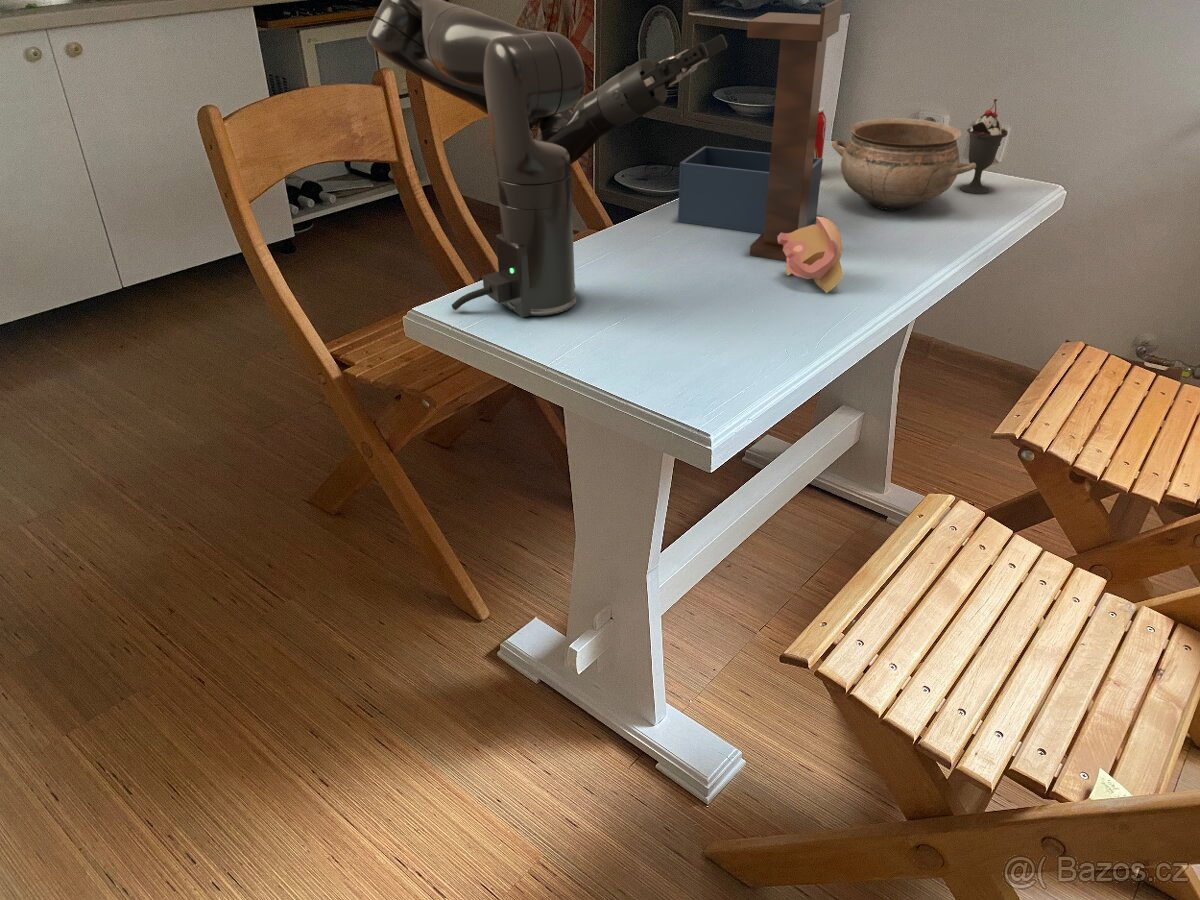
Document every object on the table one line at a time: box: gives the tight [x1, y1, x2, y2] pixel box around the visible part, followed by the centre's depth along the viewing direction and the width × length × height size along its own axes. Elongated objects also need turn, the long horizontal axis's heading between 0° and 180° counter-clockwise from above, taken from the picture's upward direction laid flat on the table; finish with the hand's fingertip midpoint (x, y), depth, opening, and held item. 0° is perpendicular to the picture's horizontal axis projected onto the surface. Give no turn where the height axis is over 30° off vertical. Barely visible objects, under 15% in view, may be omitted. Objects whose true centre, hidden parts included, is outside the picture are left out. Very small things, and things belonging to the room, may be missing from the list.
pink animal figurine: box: [778, 216, 844, 294], centre depth 124 cm, size 9×10×10 cm
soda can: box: [814, 105, 827, 158], centre depth 165 cm, size 7×7×12 cm
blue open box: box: [677, 145, 824, 235], centre depth 145 cm, size 20×11×10 cm, turn 64°
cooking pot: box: [831, 117, 976, 212], centre depth 150 cm, size 25×19×12 cm
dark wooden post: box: [746, 0, 843, 262], centre depth 127 cm, size 10×9×34 cm
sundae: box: [959, 98, 1009, 195], centre depth 155 cm, size 7×7×15 cm
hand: (715, 44), depth 136 cm, fingers open, 8 cm apart
